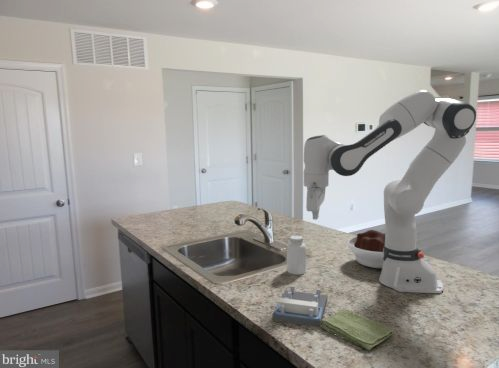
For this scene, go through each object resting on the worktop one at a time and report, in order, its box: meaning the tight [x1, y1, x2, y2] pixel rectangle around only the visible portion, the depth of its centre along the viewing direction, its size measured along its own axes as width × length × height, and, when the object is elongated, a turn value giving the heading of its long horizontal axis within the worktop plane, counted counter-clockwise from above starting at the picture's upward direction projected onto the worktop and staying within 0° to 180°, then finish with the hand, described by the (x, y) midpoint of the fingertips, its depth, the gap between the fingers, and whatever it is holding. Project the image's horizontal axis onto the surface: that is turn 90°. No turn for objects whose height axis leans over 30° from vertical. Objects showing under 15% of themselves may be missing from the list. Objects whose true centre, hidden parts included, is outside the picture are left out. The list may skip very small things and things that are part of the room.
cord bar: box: [278, 298, 318, 316], centre depth 118 cm, size 12×3×3 cm, turn 72°
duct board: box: [272, 284, 328, 328], centre depth 123 cm, size 15×18×4 cm
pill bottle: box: [286, 235, 307, 276], centre depth 155 cm, size 8×8×15 cm
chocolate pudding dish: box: [346, 229, 385, 269], centre depth 162 cm, size 25×25×15 cm
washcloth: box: [321, 309, 394, 351], centre depth 109 cm, size 13×18×3 cm
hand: (315, 218), depth 135 cm, fingers closed
